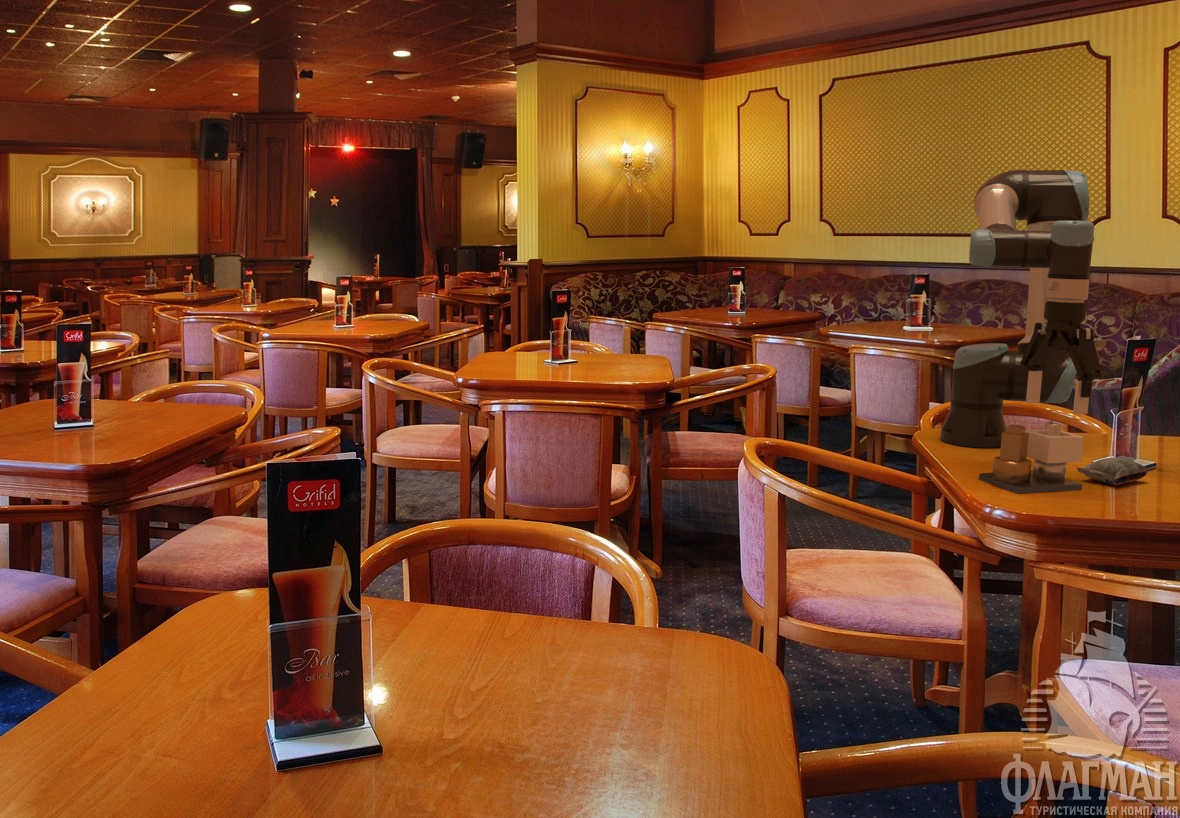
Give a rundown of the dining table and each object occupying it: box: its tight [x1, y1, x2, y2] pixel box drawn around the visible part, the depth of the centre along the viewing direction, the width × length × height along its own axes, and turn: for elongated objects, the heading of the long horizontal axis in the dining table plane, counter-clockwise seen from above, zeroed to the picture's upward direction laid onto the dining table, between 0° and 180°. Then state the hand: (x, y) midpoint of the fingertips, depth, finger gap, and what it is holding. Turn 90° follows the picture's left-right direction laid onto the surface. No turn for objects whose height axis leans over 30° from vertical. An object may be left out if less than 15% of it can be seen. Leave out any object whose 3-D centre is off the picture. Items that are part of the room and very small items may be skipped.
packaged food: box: [1076, 457, 1148, 486], centre depth 220 cm, size 9×12×5 cm
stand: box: [1032, 422, 1068, 481], centre depth 216 cm, size 6×6×11 cm
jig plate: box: [978, 469, 1084, 495], centre depth 216 cm, size 15×12×1 cm
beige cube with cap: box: [1025, 428, 1085, 463], centre depth 216 cm, size 8×8×5 cm
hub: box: [992, 424, 1033, 484], centre depth 214 cm, size 7×7×11 cm
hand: (1055, 408), depth 215 cm, fingers open, 13 cm apart
